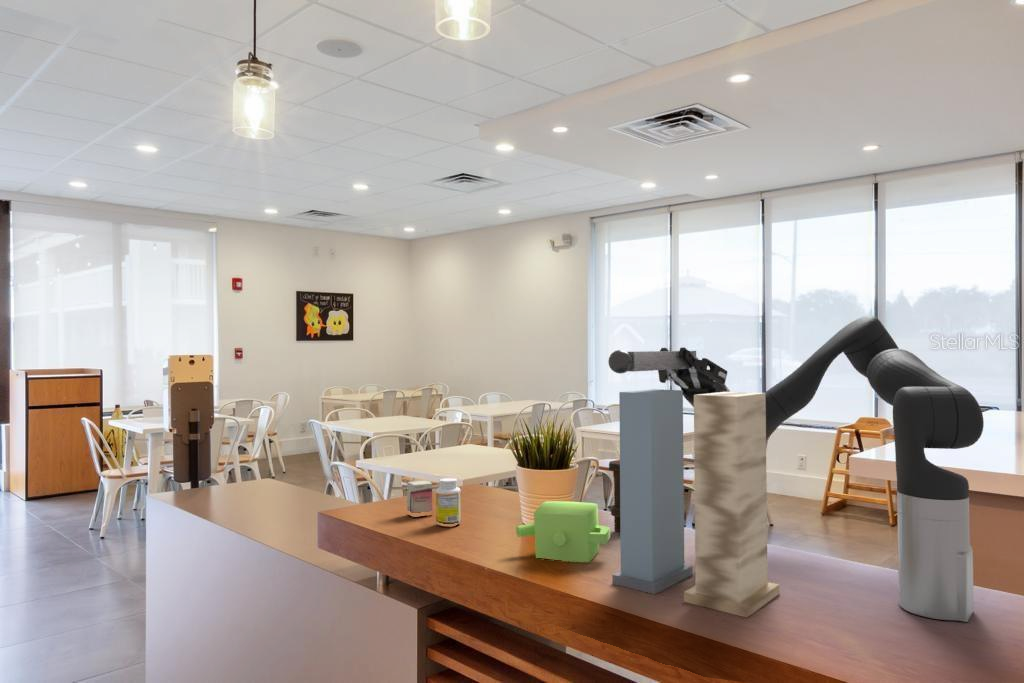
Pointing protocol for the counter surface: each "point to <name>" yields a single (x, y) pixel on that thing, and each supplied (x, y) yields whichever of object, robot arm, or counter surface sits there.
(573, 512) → the gearbox
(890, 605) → the counter surface
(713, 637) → the counter surface
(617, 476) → the bolt
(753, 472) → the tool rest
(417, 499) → the small box
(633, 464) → the post
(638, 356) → the lever bar
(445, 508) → the supplement bottle
